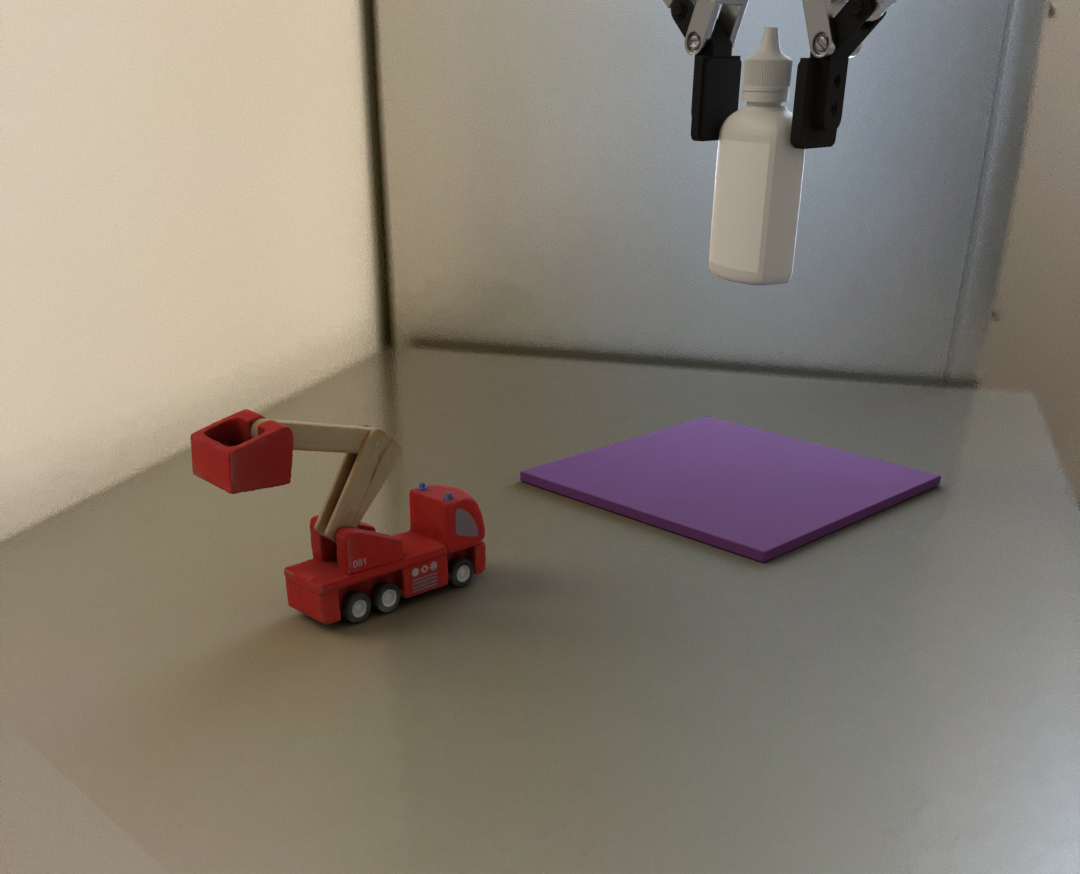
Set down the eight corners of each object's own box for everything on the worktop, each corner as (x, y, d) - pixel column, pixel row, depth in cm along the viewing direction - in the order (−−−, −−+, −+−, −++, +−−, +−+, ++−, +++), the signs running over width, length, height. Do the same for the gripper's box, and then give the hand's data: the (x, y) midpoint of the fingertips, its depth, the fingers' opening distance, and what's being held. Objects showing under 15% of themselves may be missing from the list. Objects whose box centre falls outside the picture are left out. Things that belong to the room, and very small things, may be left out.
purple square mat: (705, 423, 83) (706, 415, 83) (940, 484, 72) (941, 475, 72) (519, 480, 72) (519, 471, 72) (763, 563, 61) (764, 552, 61)
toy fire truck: (495, 577, 59) (493, 380, 54) (253, 660, 51) (225, 438, 46) (452, 558, 61) (447, 367, 56) (214, 635, 53) (183, 420, 48)
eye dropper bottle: (710, 286, 64) (730, 26, 58) (707, 269, 69) (725, 27, 63) (793, 288, 63) (822, 27, 57) (784, 270, 68) (809, 28, 62)
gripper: (1022, -319, 51) (946, 150, 60) (702, -260, 61) (679, 131, 70) (933, -357, 46) (865, 158, 55) (604, -286, 57) (592, 137, 66)
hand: (761, 139), depth 63 cm, fingers closed on eye dropper bottle, 5 cm apart
